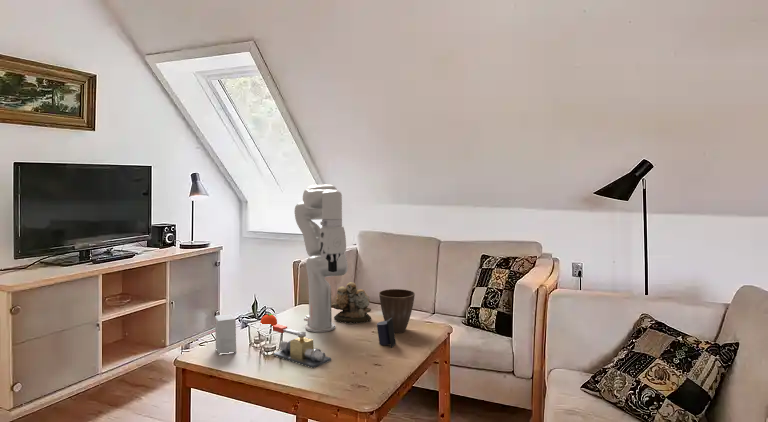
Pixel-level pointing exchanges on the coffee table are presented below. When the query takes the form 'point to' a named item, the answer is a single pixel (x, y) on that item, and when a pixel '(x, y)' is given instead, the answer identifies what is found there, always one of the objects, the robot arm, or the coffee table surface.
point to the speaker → (386, 333)
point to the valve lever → (288, 330)
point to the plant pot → (397, 307)
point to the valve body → (302, 352)
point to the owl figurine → (352, 305)
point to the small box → (225, 333)
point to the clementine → (269, 319)
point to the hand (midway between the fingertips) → (332, 271)
